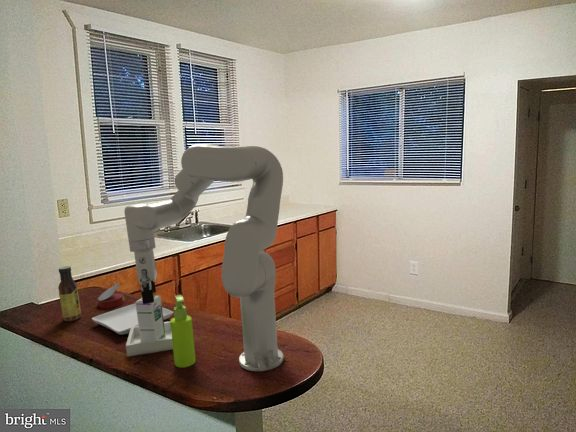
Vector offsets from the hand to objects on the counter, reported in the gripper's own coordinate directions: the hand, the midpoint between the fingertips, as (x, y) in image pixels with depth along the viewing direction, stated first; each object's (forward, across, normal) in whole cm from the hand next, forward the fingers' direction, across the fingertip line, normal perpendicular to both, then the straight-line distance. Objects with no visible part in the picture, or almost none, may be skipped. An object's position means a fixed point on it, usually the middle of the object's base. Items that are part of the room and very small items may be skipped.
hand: (149, 297), depth 132 cm
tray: (+15, +1, +1) cm, 15 cm away
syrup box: (+15, 0, +1) cm, 15 cm away
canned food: (+14, +45, +20) cm, 51 cm away
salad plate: (+15, +21, +9) cm, 27 cm away
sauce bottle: (+14, +33, +32) cm, 48 cm away
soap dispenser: (+16, -16, -9) cm, 24 cm away
